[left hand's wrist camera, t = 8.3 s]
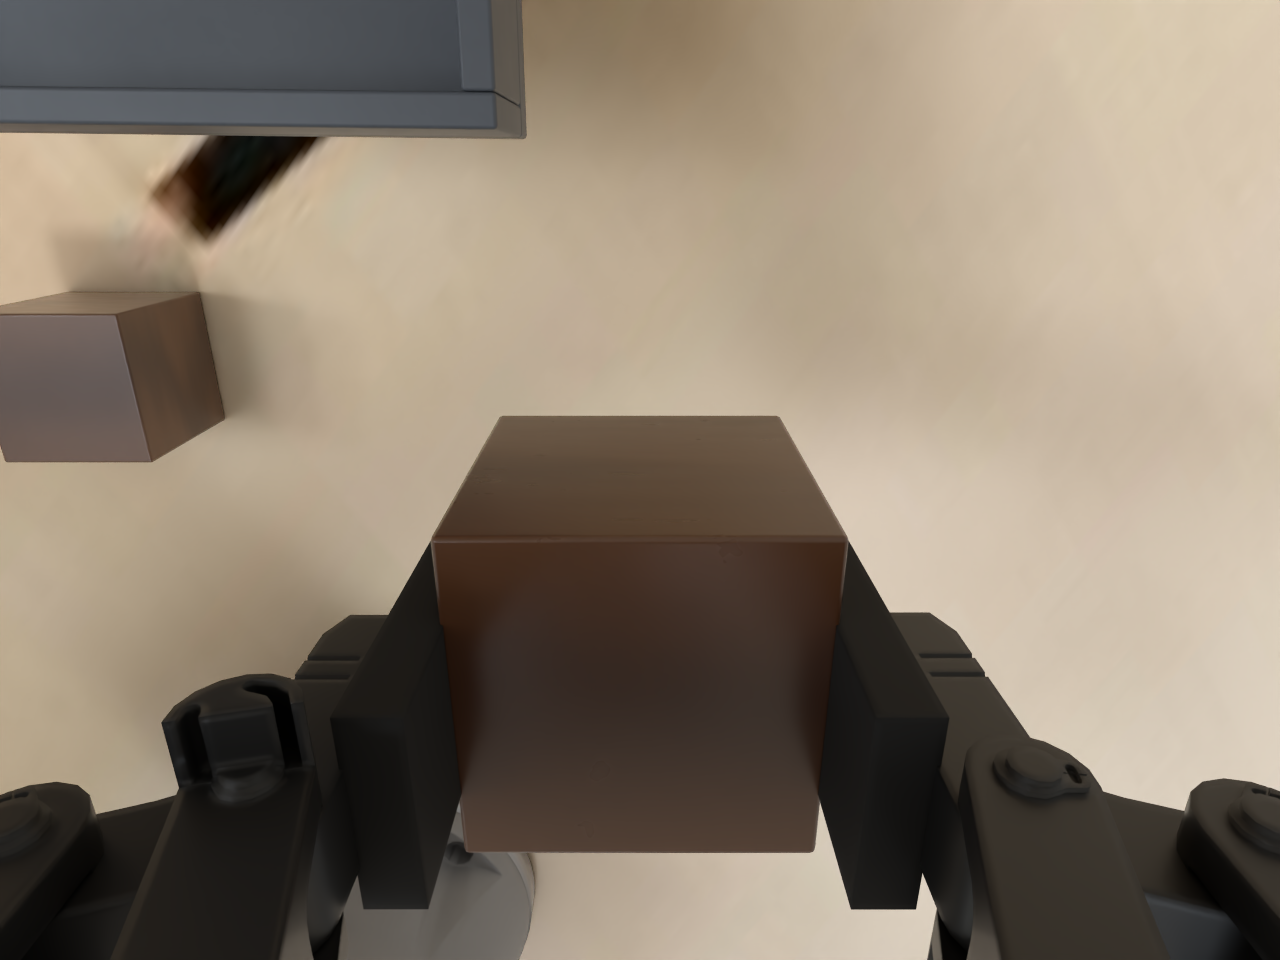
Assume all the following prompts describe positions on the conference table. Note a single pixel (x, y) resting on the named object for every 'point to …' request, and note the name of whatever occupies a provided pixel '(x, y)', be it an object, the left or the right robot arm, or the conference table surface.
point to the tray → (264, 68)
